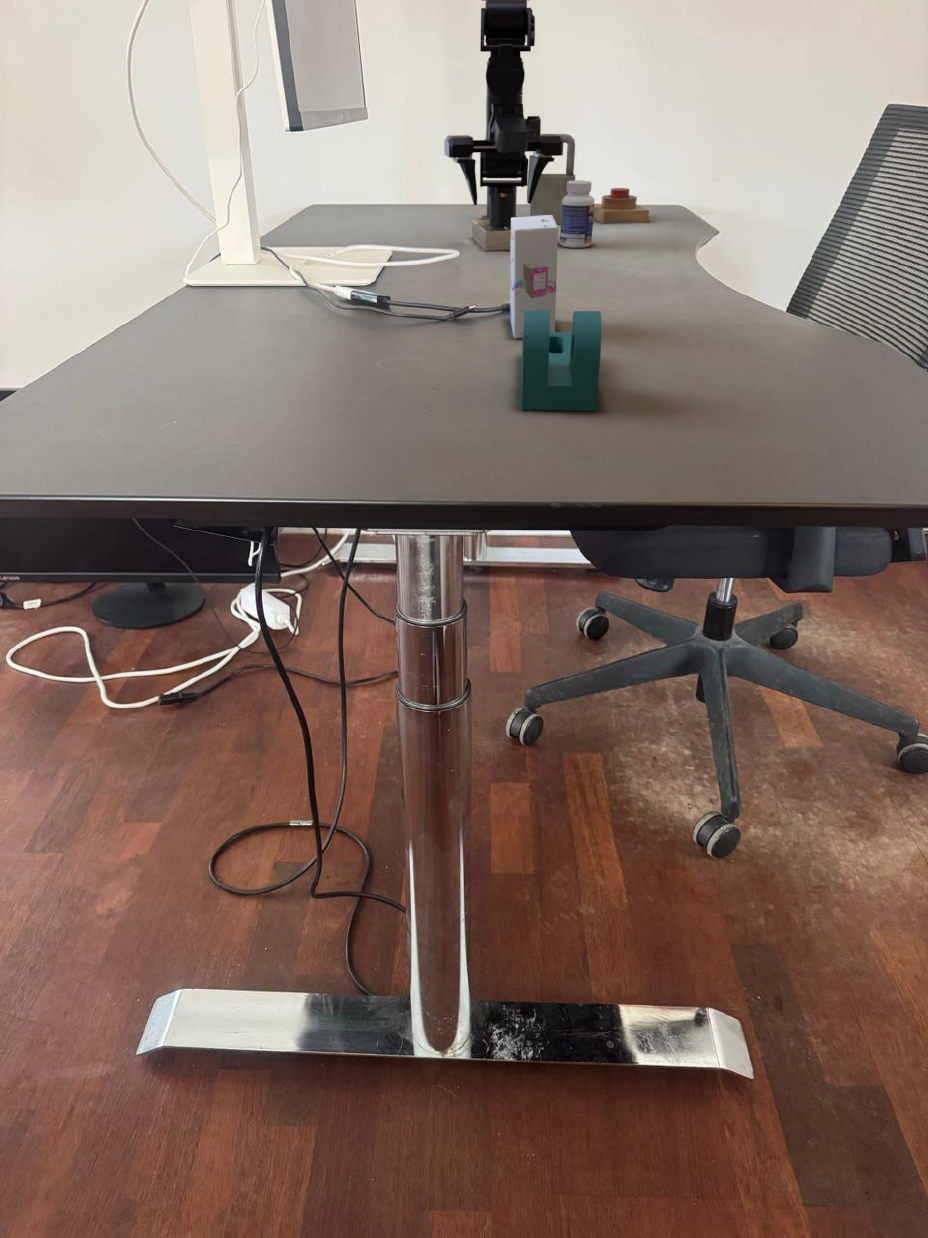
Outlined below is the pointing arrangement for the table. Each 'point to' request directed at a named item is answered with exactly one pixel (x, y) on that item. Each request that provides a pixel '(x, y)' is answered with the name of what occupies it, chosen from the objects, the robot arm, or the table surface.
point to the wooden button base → (620, 210)
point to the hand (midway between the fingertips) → (502, 204)
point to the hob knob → (501, 209)
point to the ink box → (532, 268)
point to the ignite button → (619, 193)
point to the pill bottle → (577, 215)
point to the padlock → (554, 186)
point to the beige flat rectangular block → (491, 235)
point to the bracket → (560, 362)
